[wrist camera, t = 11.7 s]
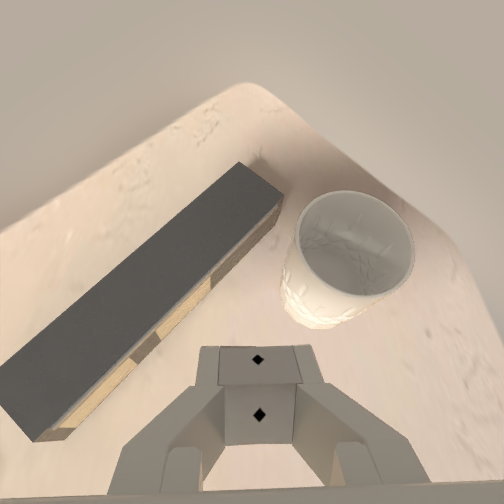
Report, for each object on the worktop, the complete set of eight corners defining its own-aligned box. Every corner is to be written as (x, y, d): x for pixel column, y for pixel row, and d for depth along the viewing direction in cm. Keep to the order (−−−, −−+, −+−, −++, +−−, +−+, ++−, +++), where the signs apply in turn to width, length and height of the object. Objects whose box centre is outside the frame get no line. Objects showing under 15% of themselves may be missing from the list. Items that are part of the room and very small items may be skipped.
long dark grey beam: (276, 226, 35) (285, 196, 31) (65, 442, 26) (35, 444, 21) (235, 194, 36) (238, 161, 32) (19, 390, 27) (-19, 383, 22)
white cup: (330, 356, 30) (380, 325, 21) (254, 298, 32) (271, 247, 23) (375, 286, 33) (434, 233, 24) (303, 237, 35) (335, 170, 26)
